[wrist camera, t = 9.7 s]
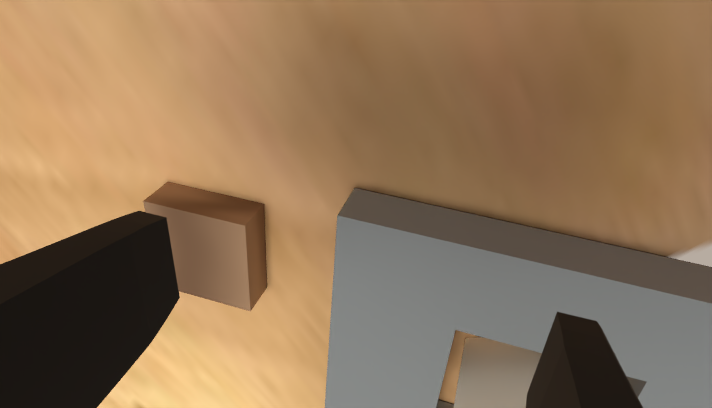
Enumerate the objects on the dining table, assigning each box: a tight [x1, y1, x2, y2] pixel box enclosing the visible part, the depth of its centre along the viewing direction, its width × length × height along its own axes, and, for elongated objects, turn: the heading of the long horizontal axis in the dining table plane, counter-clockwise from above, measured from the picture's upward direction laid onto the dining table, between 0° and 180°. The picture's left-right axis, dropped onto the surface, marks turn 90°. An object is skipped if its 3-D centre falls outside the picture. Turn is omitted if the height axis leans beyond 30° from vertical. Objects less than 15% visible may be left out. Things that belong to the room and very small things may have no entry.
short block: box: [143, 182, 267, 311], centre depth 22 cm, size 4×4×2 cm
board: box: [325, 188, 712, 408], centre depth 21 cm, size 16×14×2 cm
